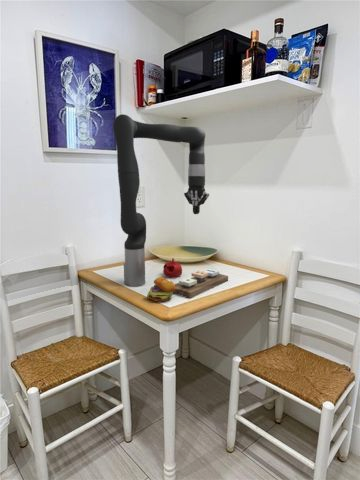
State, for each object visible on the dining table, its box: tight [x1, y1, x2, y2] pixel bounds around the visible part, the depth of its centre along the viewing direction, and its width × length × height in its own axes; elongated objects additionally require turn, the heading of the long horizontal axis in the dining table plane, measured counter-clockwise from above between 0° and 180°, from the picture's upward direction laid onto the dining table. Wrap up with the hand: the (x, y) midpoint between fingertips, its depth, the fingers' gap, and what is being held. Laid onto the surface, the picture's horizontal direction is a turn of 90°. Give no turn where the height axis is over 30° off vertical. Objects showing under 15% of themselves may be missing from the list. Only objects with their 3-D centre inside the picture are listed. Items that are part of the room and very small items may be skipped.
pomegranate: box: [162, 257, 183, 279], centre depth 168 cm, size 10×10×9 cm
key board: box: [173, 273, 229, 299], centre depth 153 cm, size 12×30×2 cm, turn 141°
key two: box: [191, 270, 209, 283], centre depth 153 cm, size 6×6×4 cm
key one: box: [178, 277, 197, 288], centre depth 146 cm, size 6×6×4 cm
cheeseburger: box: [146, 276, 176, 303], centre depth 138 cm, size 10×11×10 cm
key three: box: [203, 268, 220, 278], centre depth 160 cm, size 6×6×4 cm
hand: (196, 213), depth 151 cm, fingers closed
